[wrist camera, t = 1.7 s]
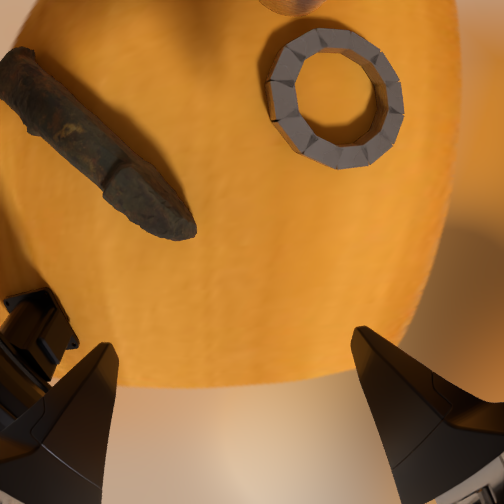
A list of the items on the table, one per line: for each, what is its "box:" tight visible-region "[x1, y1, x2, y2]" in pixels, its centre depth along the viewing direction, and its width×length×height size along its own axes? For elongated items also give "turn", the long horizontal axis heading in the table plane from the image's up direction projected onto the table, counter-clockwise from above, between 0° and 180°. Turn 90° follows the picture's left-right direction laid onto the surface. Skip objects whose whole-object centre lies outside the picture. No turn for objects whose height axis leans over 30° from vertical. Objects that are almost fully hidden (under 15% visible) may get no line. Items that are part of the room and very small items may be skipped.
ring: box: [265, 28, 404, 170], centre depth 16 cm, size 10×10×2 cm
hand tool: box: [0, 47, 197, 241], centre depth 14 cm, size 19×4×5 cm, turn 42°
